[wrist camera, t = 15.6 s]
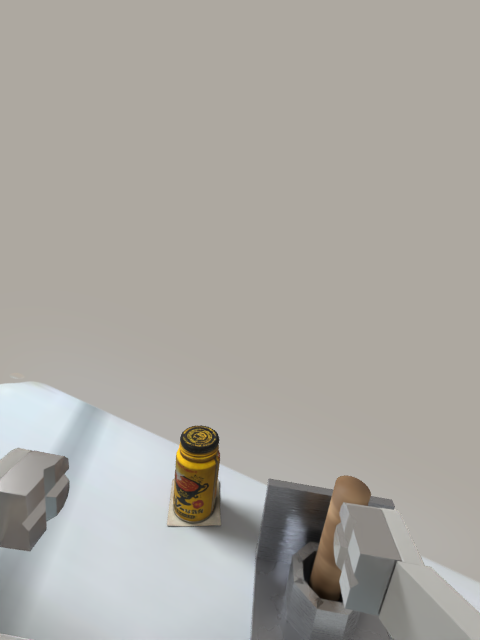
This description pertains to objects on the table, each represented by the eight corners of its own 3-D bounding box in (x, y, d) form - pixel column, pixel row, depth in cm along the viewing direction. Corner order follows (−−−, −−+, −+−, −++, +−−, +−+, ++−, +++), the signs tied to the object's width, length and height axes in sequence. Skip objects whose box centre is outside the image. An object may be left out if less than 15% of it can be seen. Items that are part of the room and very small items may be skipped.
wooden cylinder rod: (297, 599, 36) (328, 479, 32) (321, 589, 38) (353, 472, 33) (315, 632, 34) (352, 505, 29) (339, 620, 35) (378, 497, 31)
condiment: (166, 526, 45) (172, 450, 41) (172, 480, 53) (177, 413, 50) (220, 526, 46) (230, 452, 42) (218, 481, 54) (226, 415, 50)
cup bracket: (401, 700, 30) (437, 604, 27) (248, 668, 31) (265, 572, 28) (366, 571, 42) (388, 493, 39) (255, 550, 43) (268, 472, 40)
